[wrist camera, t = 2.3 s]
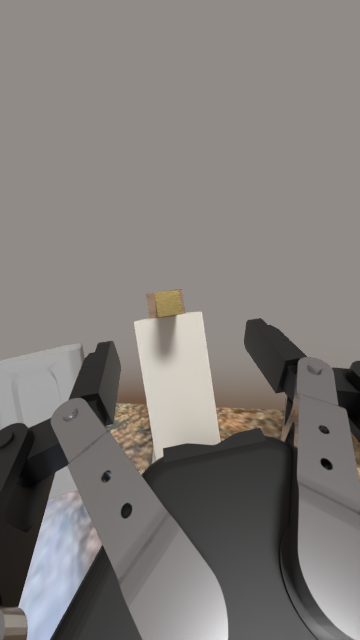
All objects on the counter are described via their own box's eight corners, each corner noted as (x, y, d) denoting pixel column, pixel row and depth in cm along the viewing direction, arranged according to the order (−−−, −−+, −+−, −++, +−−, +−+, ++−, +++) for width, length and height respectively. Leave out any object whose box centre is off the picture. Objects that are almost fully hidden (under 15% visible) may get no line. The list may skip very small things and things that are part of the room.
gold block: (160, 315, 48) (158, 303, 48) (172, 313, 48) (170, 301, 48) (158, 317, 24) (154, 293, 24) (182, 313, 24) (178, 289, 24)
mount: (155, 436, 53) (133, 302, 51) (212, 424, 54) (193, 293, 52) (150, 511, 33) (114, 294, 31) (241, 489, 34) (211, 281, 32)
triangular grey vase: (49, 528, 32) (18, 364, 31) (6, 501, 39) (-21, 365, 38) (127, 448, 49) (109, 340, 48) (88, 439, 56) (71, 344, 55)
